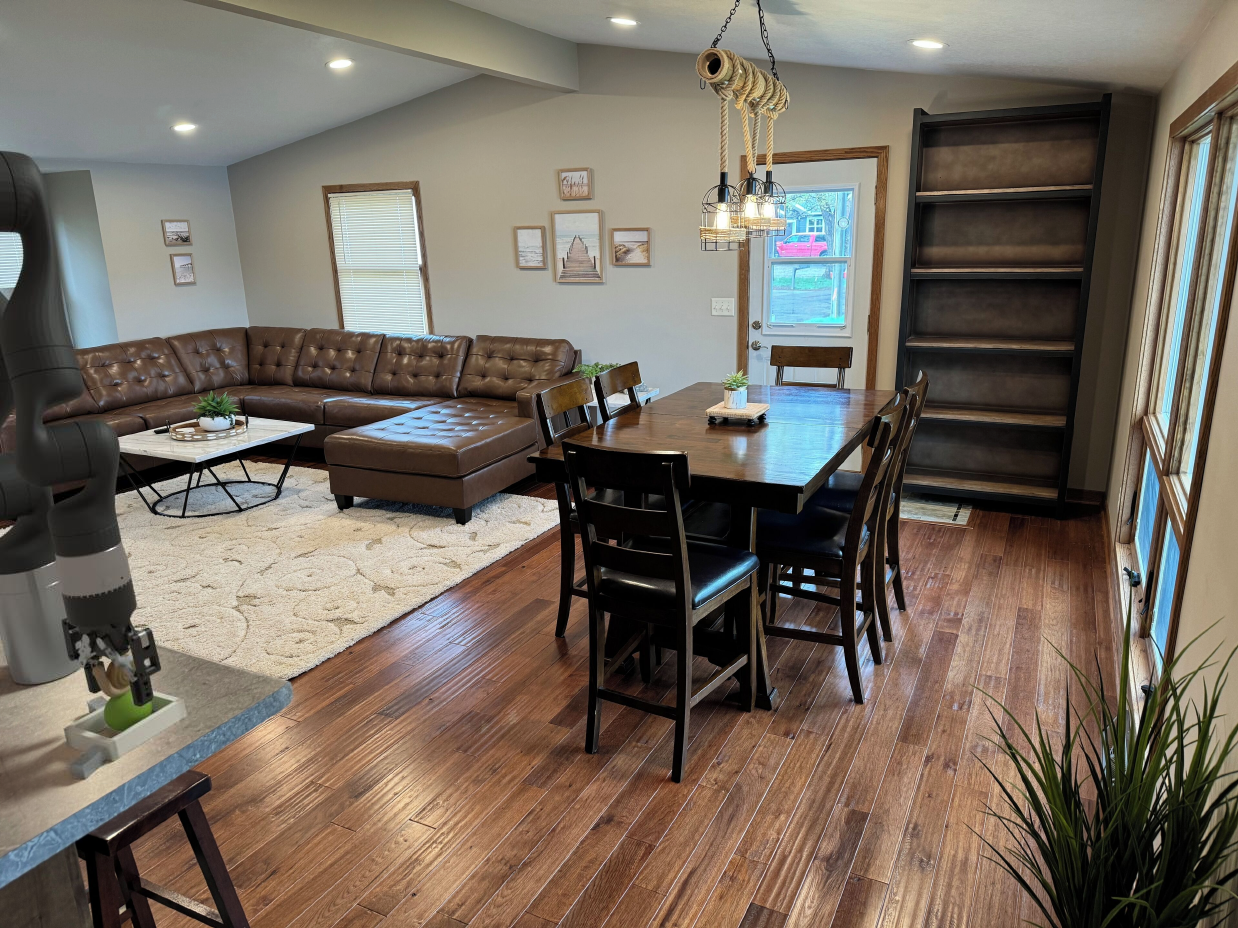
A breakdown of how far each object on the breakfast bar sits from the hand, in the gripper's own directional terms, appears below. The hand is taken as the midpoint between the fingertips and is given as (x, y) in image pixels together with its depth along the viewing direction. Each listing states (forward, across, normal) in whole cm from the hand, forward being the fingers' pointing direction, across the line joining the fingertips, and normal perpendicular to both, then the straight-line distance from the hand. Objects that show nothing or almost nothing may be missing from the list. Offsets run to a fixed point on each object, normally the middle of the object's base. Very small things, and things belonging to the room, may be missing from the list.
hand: (121, 696), depth 109 cm
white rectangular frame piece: (+5, +2, +2) cm, 6 cm away
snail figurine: (+5, 0, 0) cm, 5 cm away
